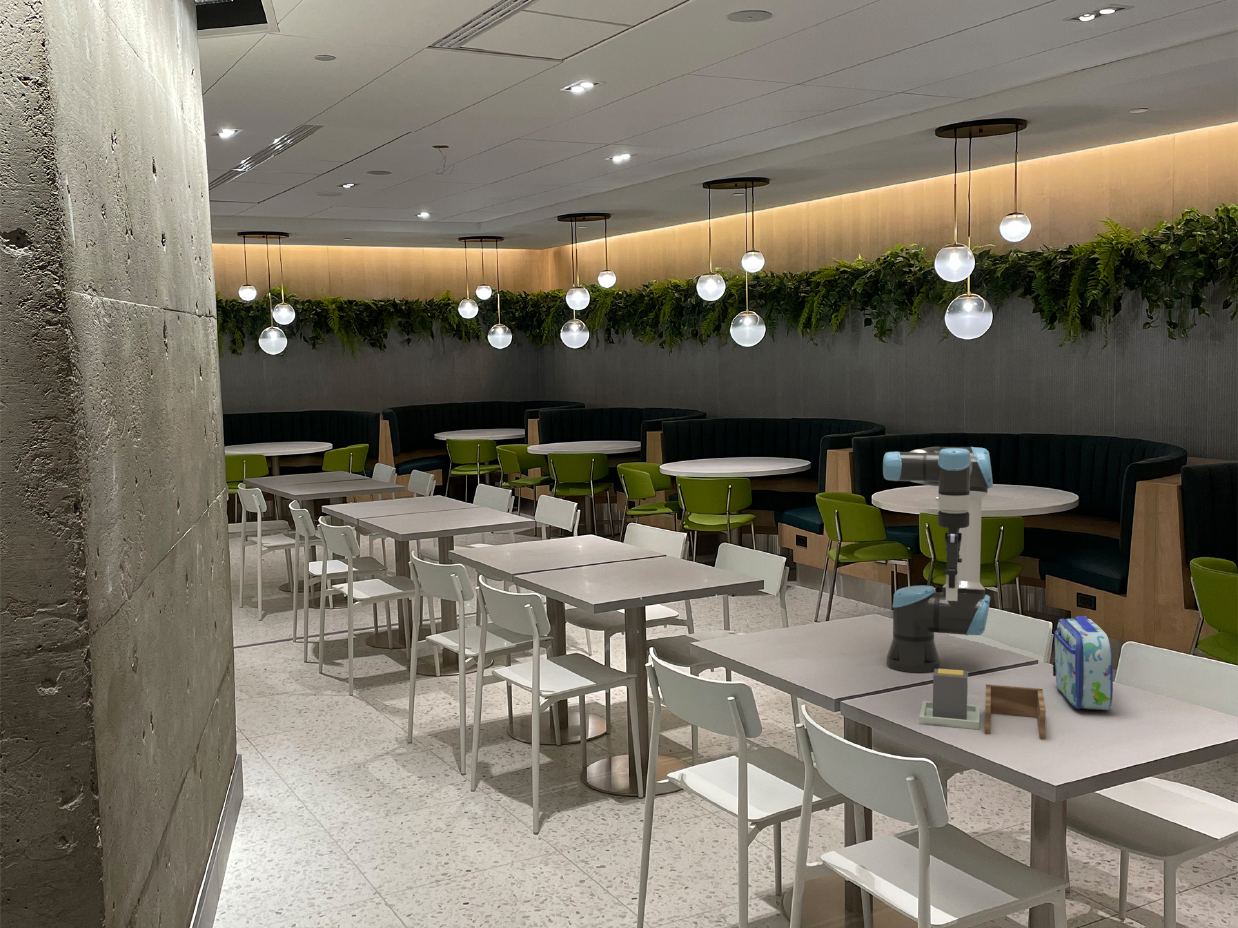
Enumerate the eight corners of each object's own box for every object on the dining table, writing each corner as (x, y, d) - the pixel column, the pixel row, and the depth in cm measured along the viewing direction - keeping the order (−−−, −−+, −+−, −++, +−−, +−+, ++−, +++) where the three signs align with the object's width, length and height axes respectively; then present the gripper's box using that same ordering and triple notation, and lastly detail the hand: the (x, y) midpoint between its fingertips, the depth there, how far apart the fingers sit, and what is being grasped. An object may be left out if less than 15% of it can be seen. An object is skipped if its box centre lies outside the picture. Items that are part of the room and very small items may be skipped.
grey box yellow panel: (934, 710, 270) (934, 666, 269) (967, 713, 267) (967, 669, 266) (932, 718, 264) (933, 673, 263) (966, 721, 262) (967, 676, 261)
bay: (985, 711, 271) (985, 684, 270) (1041, 716, 266) (1042, 688, 266) (984, 733, 255) (985, 704, 254) (1045, 739, 250) (1045, 710, 249)
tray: (922, 707, 274) (922, 700, 274) (979, 712, 270) (980, 705, 269) (919, 723, 262) (919, 716, 262) (979, 729, 257) (979, 722, 257)
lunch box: (1049, 684, 292) (1051, 609, 290) (1091, 686, 290) (1093, 610, 288) (1070, 714, 267) (1072, 633, 265) (1115, 717, 265) (1118, 634, 263)
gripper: (940, 502, 278) (939, 582, 280) (935, 518, 254) (934, 604, 257) (970, 503, 275) (969, 583, 278) (968, 519, 252) (967, 606, 254)
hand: (952, 594), depth 267 cm, fingers open, 13 cm apart
